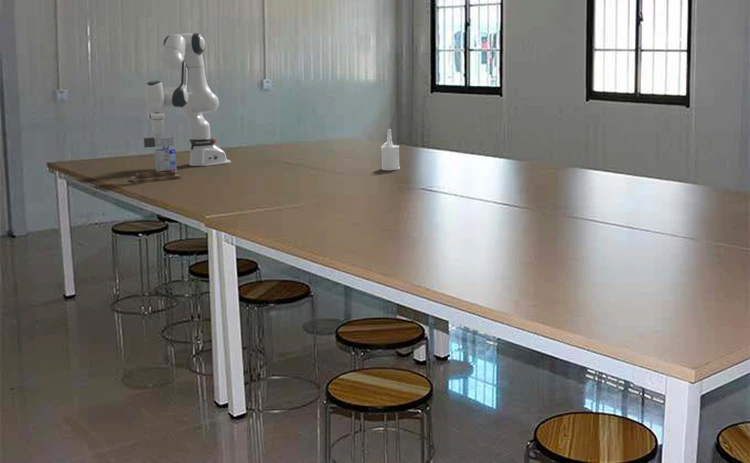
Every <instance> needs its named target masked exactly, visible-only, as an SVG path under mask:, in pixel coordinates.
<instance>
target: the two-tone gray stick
mask: <svg viewBox="0 0 750 463" xmlns="http://www.w3.org/2000/svg"><path fill="white" fill-rule="evenodd" d="M163 146H164V147H168V146H169V147H174V137H173V136H166V137H161V143H157V139H156V137H154V136H153V137H143V147H144V148H157V147H158V148H159V147H163Z"/></svg>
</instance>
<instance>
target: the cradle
mask: <svg viewBox="0 0 750 463" xmlns="http://www.w3.org/2000/svg"><path fill="white" fill-rule="evenodd" d="M134 174H135V176H130V180H131V182H133V183H135V184H139V183H141V184H142V183H150V182H158V181H159V182H162V181H169V180H170V181H171V180H179V179H180V180H181V174H178V173H175V171H173V170H163V171H156V170H154V171H145V172H135V173H134Z"/></svg>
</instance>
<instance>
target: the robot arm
mask: <svg viewBox="0 0 750 463" xmlns="http://www.w3.org/2000/svg"><path fill="white" fill-rule="evenodd" d="M205 49H206V40H205V37H204V36H203V35H202V34H201V33H197V32H194V33H191V32H188V33H187V32H186V33H184V32H183V33H179V34H177V33H173V34H170V35H167V36H166V37H165V38H164V40H163V48H162V51H161V52H162V53H161V55H160V56H161V58H160V59H161V60H160V61H161V64H162V65H163V66H164V68H166V70H168V71H169V72H173V73H175V74H178V81H177V85H176V86H168V87H167V86H163V82H162V81H161V80H151V81H148V82H147V83H146V84H145V101H146V118H147V119H148V120H149V122H150V123H151V125H152V128H151V129H152V132H153V134H154V136H155V137H154V138H156V139H157V143H161V138H162V137H161V136H163V134H164V120H165V119H166V118H167V115H166V107H168V108H169V107H170V108H171V107H172V108H174V107H175V108H178V110H179V111H180V112H182V114H183V115H184V117H185V119H186V120H187V124H188V131H189V150H190V157H189V163H188V165H189V166H193V167H197V166H199V167H200V166H202V167H210V166H217V165H225V164H231V163H232V161H231V160H230V159H227V155H226V152H225V150H223V149H222V148H220V147H219V146H218V145H216V143H217V142H218V140H217V138H212V136H211V127H210V126H211V124H210V123H209V121H208V120H206V119H205V118H204V115H203V114H210V113H214V112H216V111H217V110H218V109H219V108H218V107H219V105H220V102H219V98H218V96H217V95H216V94H215V93H213V91H212V90H211V89H210V87H209V84H208V82H207V78H206V77H207V76H206V72H205V71H206V69H205V62H204V61H205V60H204V57H203V53H204V51H205ZM189 87H190V88H191V90H192V92H189Z"/></svg>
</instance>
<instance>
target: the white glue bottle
mask: <svg viewBox="0 0 750 463" xmlns="http://www.w3.org/2000/svg"><path fill="white" fill-rule="evenodd" d="M392 134H393V133H392V129H391V128H388V129H387V134H386V135H387V137H386V142H384V143H382V146H380V149H381V170H383V171H397V170H400V169H401V167H400V145H396V144H393V143H394V142H393V141H392V140H393V138H392Z"/></svg>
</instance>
